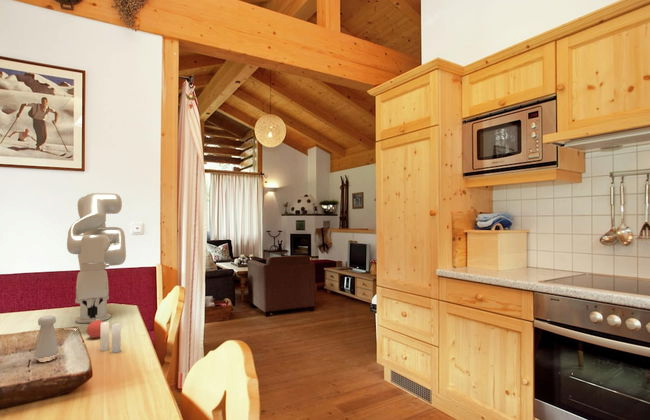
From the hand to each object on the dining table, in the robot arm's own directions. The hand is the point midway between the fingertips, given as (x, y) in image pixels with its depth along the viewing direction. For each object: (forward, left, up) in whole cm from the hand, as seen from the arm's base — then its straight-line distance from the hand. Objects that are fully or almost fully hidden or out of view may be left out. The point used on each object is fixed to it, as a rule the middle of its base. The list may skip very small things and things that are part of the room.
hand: (92, 317), depth 140 cm
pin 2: (+29, +3, -6) cm, 29 cm away
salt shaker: (+23, -15, -6) cm, 28 cm away
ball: (+8, 0, -3) cm, 9 cm away
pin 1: (+24, 0, -6) cm, 25 cm away
